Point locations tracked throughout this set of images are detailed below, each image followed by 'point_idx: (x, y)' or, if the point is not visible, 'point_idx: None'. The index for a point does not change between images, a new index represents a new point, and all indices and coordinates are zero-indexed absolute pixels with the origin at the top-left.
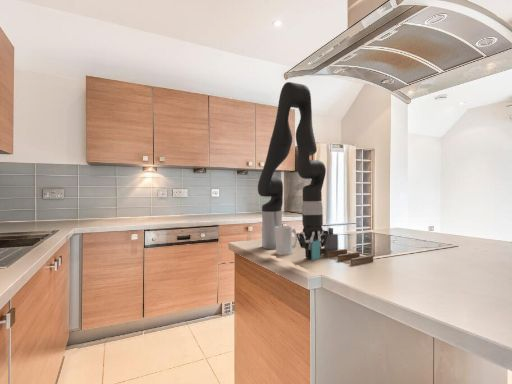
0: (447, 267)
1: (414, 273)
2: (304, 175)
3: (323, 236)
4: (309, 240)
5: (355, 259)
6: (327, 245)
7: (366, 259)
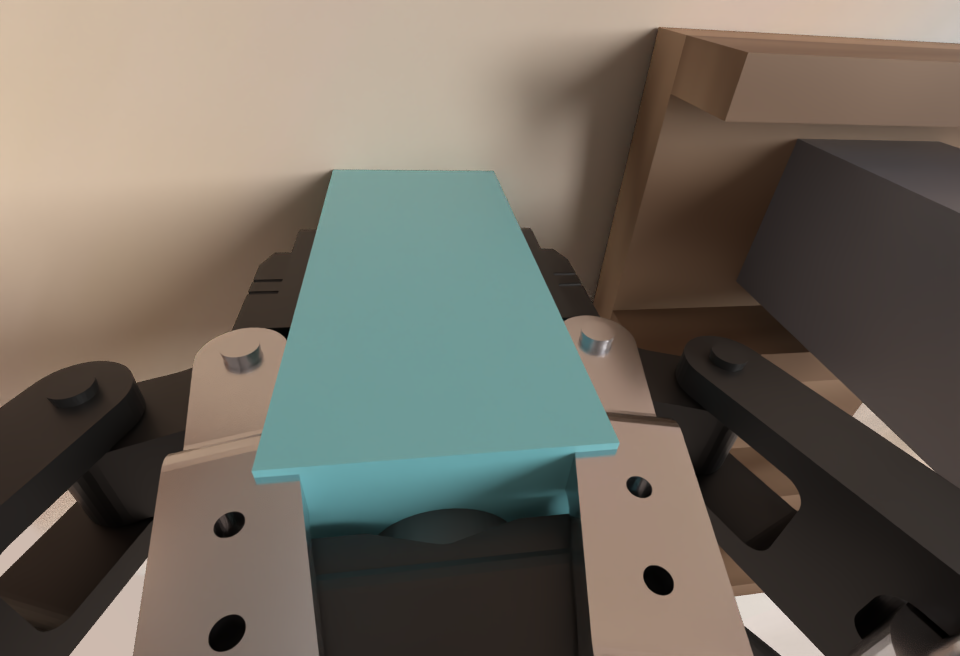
0: None
1: None
2: None
3: (837, 615)
4: (336, 535)
5: None
6: (886, 303)
7: None
